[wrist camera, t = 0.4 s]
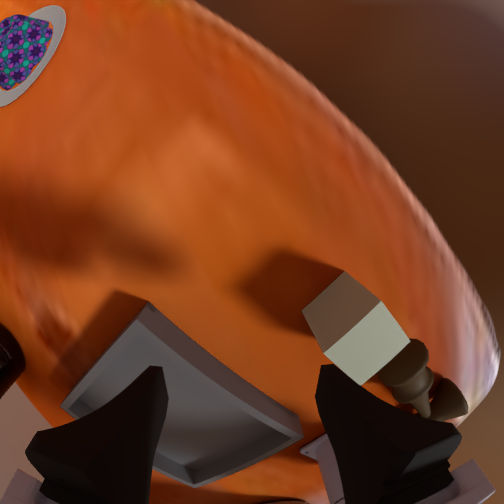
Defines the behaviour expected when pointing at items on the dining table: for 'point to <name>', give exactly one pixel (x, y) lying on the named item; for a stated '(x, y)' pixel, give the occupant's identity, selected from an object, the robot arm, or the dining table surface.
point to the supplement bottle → (9, 360)
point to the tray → (189, 402)
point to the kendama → (421, 384)
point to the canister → (287, 502)
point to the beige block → (354, 328)
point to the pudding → (27, 48)
